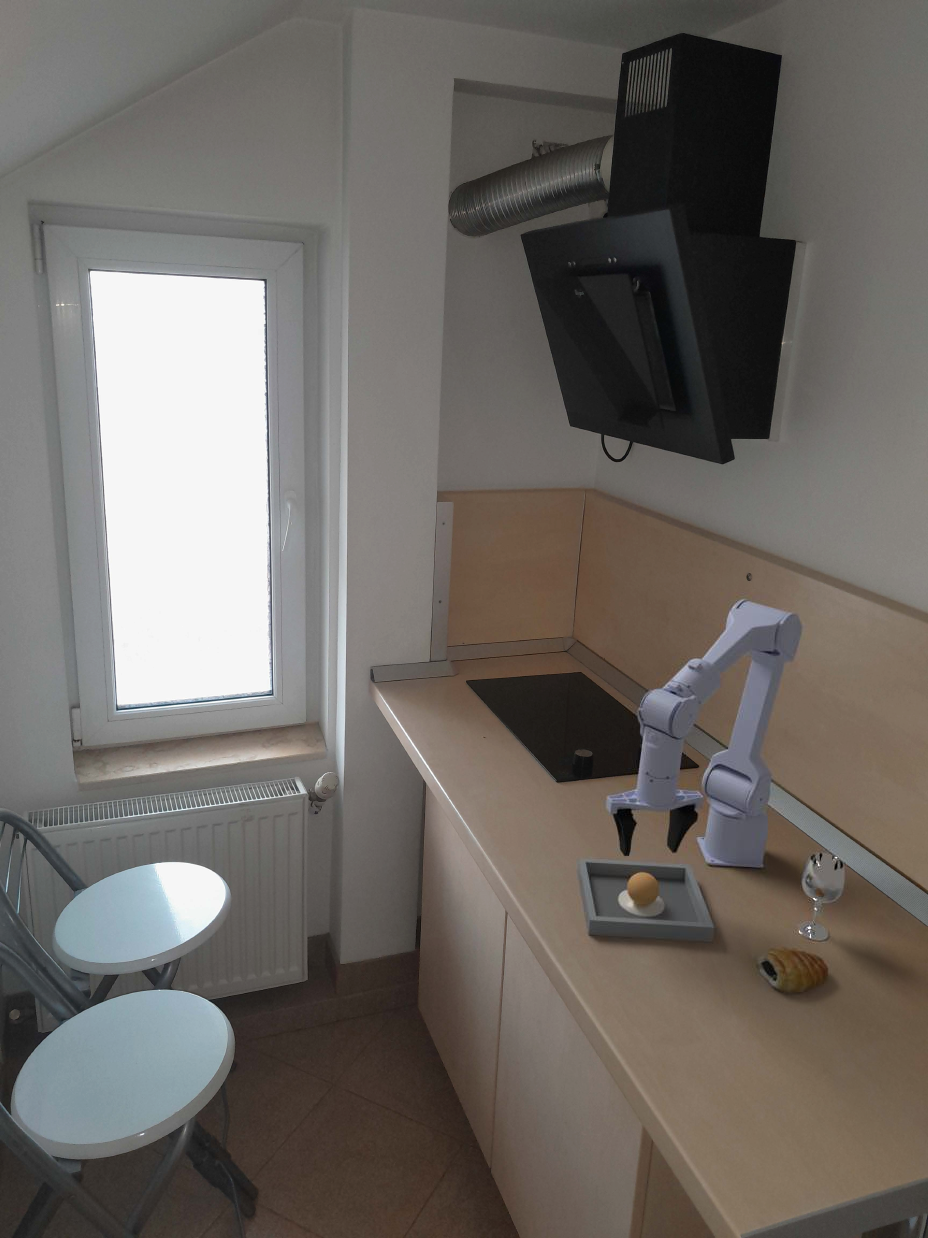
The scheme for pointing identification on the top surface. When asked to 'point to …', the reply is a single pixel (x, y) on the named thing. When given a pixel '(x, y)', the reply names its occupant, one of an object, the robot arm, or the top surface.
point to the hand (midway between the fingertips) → (648, 851)
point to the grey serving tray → (665, 918)
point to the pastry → (792, 969)
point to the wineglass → (821, 889)
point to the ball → (643, 888)
